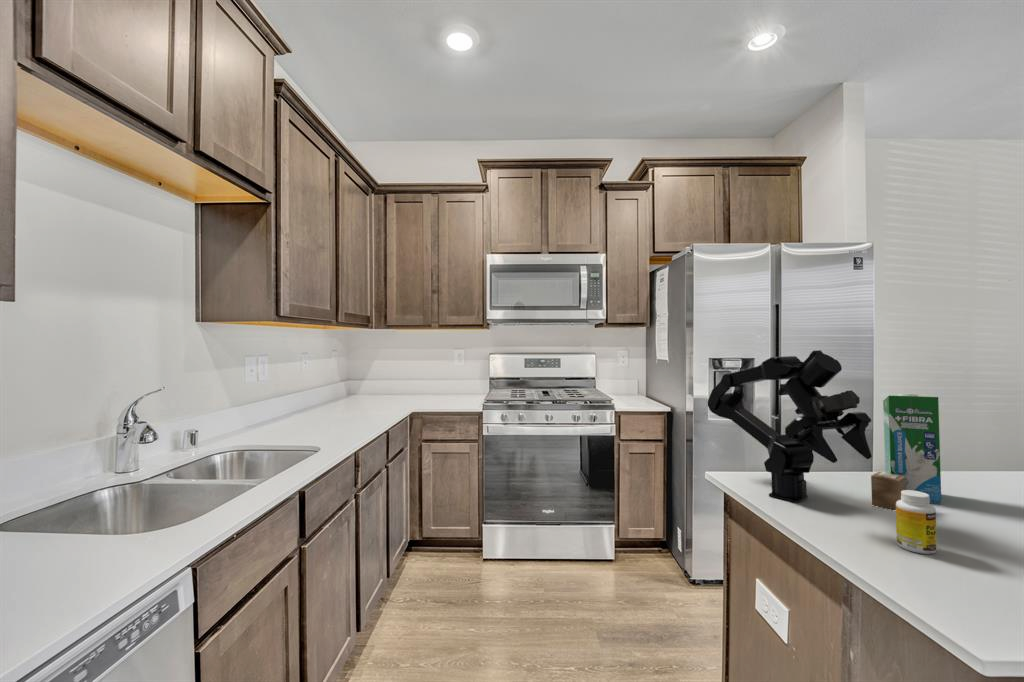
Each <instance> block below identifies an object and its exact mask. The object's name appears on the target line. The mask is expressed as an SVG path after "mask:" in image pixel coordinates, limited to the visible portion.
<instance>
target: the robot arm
mask: <svg viewBox="0 0 1024 682" xmlns="http://www.w3.org/2000/svg"><path fill="white" fill-rule="evenodd" d="M842 369H843V367H842V365H841V363H840V362H839V360H838V359H835V358H834V357H833V356H830V355H828V354H825V353H824V352H823V351H822V350H821V349H820V350H813V351H811V352H810V353H809V356H808V357H807V358H805V360H804V361H801V360H800V358H798V356H796V355H788V356H786V355H785V356H771V357H769V358H768V359H765V360H763V361H762V362H761V364H760V365H758V366H754V367H750V368H746V369H741V370H738V371H734V372H727V373H724V374H723V375H722V377H721V380H720V382H718V384H717V385H716V386H715V387H713V388H712V390H711V391H710V395H709V397H708V400H707V407H708V408H709V411H710V412H711V413H712V414H714V415H716V416H718V417H721V418H723V419H727V420H731V421H732V422H733V423H734V424H736V426H739V427H740V428H741V429H742V430H743V431H745V432H746V433H747V434H749V435H750V436H751V437H752V438H754V440H756V441H757V442H758V443H760V444H761V445H762V446H764V447H765V448H766V449H767V453H768V458H767V459H766V460H765V461H764V462H763V465H764V468H765V471H766V472H768V473H771V474H770V475H771V492H770V493H768V496H769V497H771V498H777V499H780V500H784V501H789V502H791V503H799V502H801V501H803V500H805V499H807V498H808V497H809V495H808V494H807V493H808V492H807V491H808V490H807V481H806V479H805V474H809V473H810V471H811V467H812V465H813V463H814V460H815V458H814V457H815V455H814V452H815V453H816V454H818V455H820V457H821V456H822V457H823V458H825V459H826V460H827V461H829V462H831V463H832V464H835V463H837V462H838V458H837V457H836V454H835V452H834V451H833V449H832V448H831V446H830V445H829V444H828V442H827V441H826V438H825V437H824V434H823V433H824V432H823V431H827V430H836V431H837V433H838V434H840V435H842V436H841V439H842V440H843V441H845V442H846V443H847V444H849V445H850V447H852V448H853V449H854V450H855V451H856V452H857V453H858V454H860V456H862V457H863V458H865V459H866V460H869V459H871V458H872V457H873V455H872V453H871V450H870V447H869V444H868V441H867V438H866V428H867V427H869V425H870V423H871V422H872V419H871V418H870V416H869V415H868V414H867V412H863V411H853V412H848V413H846V414H845V412H844V411H847V410H850V409H856V408H858V405H859V404H860V401H861V400H860V399H861V398H860V396H858V395H857V394H856V393H855V392H854V391H853V390H846V391H842V392H840V393H836V394H832V395H830V396H829V395H822V394H821V393H820V391H819V390H818V389H819V388H824V387H825V386H826V385H828V384H829V383H830V381H831V380H833V378H835V377H836V376H837V375H839V373H841V371H842ZM780 380H781V381H782V380H783V381H784V380H787V381H786V382H785V383H781V384H779V389H778V391H777V392H778V393H777V394H778V396H788V397H789V398H790V399H791V401H792V402H793V404H794V405H795V406H796V409H795V410H794V412H795V413H796V415H801V416H796V417H795V418H794V419H793V420H791V422H790V423H789V424H787V425H786V427H785V428H784V429H785V431H784V434H780V433H779V432H778V431H776V430H775V429H774V428H772V427H771V426H769V425H768V424H767V423H765V422H764V421H763V420H762V419H760V418H759V417H757V416H756V415H754V414H753V413H752V412H750V410H747V409H746V408H745V405H744V401H743V398H744V396H745V395H744V389H743V388H744V386H745V385H749V384H754V383H759V382H763V381H780ZM730 388H734V389H733V392H728V391H729V390H730ZM817 388H818V389H817ZM844 414H845V415H844ZM843 415H844V416H843ZM841 416H843V417H841ZM838 417H841V418H840V419H839V418H838ZM813 451H814V452H813Z"/></svg>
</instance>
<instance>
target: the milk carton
mask: <svg viewBox="0 0 1024 682" xmlns="http://www.w3.org/2000/svg"><path fill="white" fill-rule="evenodd" d="M882 403H883V404H882V405H883V437H884V438H883V439H884V467H885V468H884V471H885V472H884V473H888V474H894V475H899V476H905V477H906V490H914V491H919V492H923V493H926V494H928V495H929V498H930V502H936V503H935V504H938V503H941V504H942V481H941V480H942V479H941V478H942V475H941V473H942V472H941V444H940V443H941V441H940V438H941V437H940V413H939V412H940V408H939V396H921V395H920V396H919V394H916V393H897V395H892V394H891V395H889V394H888V396H886V397H885V398H884V399H883V400H882Z"/></svg>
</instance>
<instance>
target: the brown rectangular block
mask: <svg viewBox="0 0 1024 682" xmlns="http://www.w3.org/2000/svg"><path fill="white" fill-rule="evenodd" d="M870 480H871V481H870V483H871V484H870V485H871V506H872V505H874V506H873V507H875V506H878V507H877V508H879V507H883V508H882V509H884V508H887V509H886V510H888V509H891V510H890V511H893V510H896V502H897V501H898V500H901V491H903V490H906V477H905V476H899V475H894V474H888V473H885V472H883V471H882V472H881V471H877V472H876V473H874V474H872V475H871V476H870Z"/></svg>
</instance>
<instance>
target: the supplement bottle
mask: <svg viewBox="0 0 1024 682" xmlns="http://www.w3.org/2000/svg"><path fill="white" fill-rule="evenodd" d="M936 513H937V511H936V507H934V506H933V505H932V504H930V498H929V495H928V494H926V493H923V492H919V491H914V490H903V491H901V500H898V501H897V502H896V511H895V525H896V526H895V527H896V530H895V531H896V532H895V533H896V543H897V545H898V546H900V547H901V548H903V549H904V550H907V551H910V552H913V553H917V554H924V555H930V554H934V553H936V551H937V514H936Z"/></svg>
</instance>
